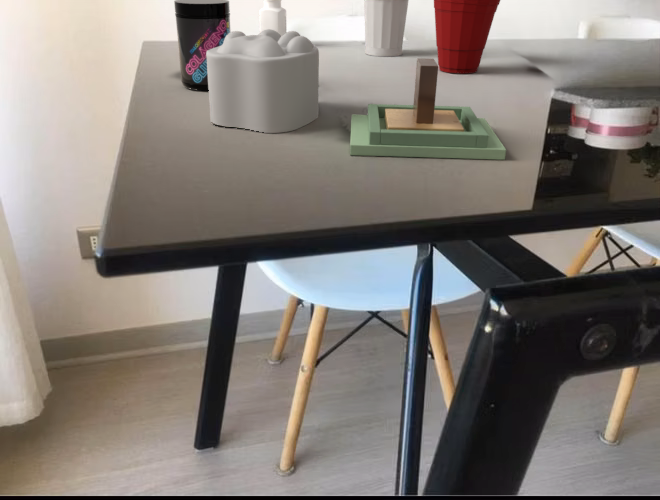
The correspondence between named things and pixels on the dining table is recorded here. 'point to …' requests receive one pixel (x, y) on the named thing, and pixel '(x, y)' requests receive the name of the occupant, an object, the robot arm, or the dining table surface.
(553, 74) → the dining table surface
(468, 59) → the plastic cup
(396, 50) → the cup
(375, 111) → the base pad
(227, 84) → the lumpy-topped squat cylinder
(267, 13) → the pepper shaker
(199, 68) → the supplement container
